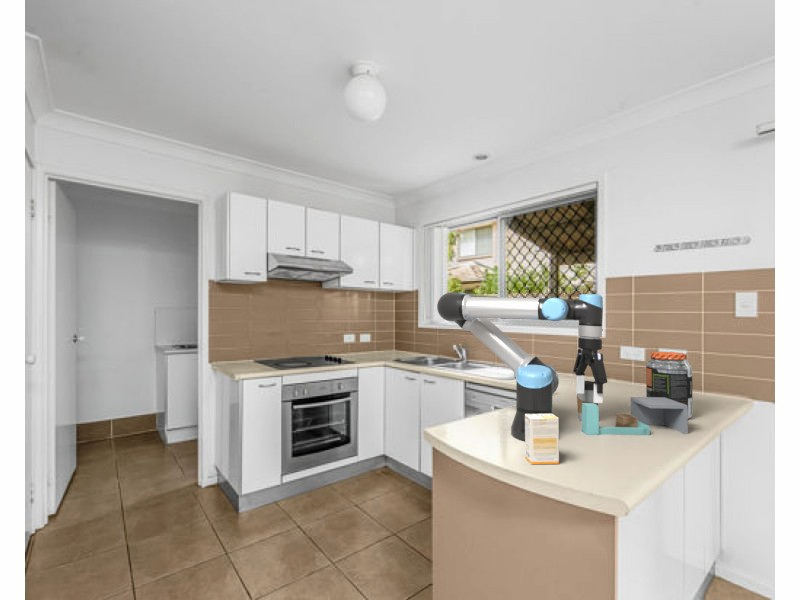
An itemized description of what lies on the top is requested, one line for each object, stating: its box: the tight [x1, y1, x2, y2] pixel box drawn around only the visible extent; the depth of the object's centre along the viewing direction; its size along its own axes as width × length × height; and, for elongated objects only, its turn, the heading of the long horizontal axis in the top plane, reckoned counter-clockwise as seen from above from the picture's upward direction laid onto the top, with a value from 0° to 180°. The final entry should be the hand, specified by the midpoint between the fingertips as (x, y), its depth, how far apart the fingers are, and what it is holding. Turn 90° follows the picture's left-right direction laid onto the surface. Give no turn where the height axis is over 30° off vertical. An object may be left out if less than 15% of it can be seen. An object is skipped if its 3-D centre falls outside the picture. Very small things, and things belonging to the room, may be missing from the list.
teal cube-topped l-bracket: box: [581, 403, 651, 436], centre depth 139 cm, size 22×11×10 cm, turn 88°
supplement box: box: [524, 413, 560, 465], centre depth 110 cm, size 8×5×13 cm, turn 92°
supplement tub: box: [645, 351, 694, 419], centre depth 160 cm, size 16×16×26 cm
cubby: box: [630, 396, 689, 435], centre depth 142 cm, size 13×12×10 cm
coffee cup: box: [576, 380, 599, 422], centre depth 151 cm, size 8×8×15 cm
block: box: [615, 413, 638, 427], centre depth 140 cm, size 5×5×5 cm
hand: (588, 397), depth 136 cm, fingers open, 13 cm apart
